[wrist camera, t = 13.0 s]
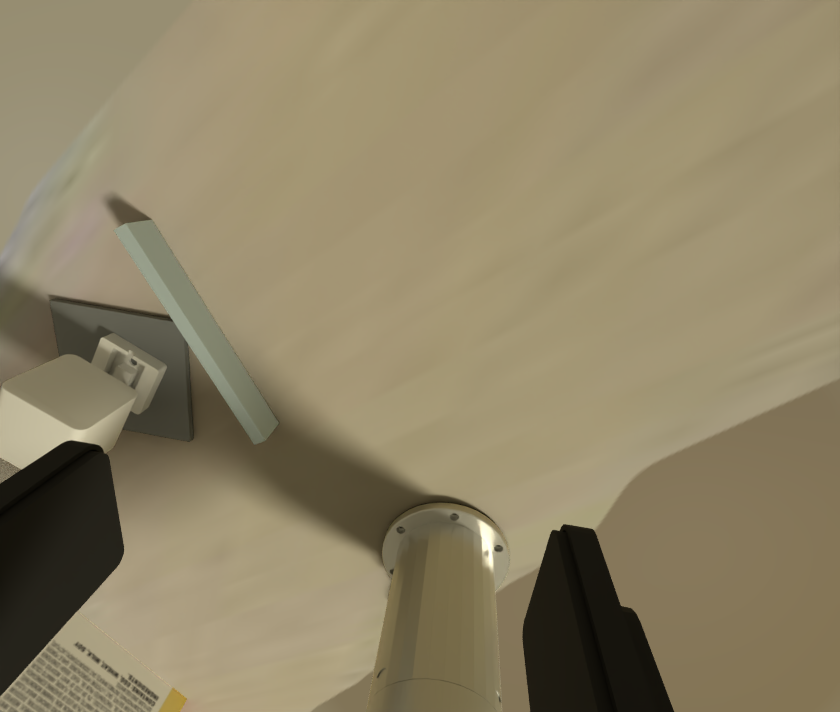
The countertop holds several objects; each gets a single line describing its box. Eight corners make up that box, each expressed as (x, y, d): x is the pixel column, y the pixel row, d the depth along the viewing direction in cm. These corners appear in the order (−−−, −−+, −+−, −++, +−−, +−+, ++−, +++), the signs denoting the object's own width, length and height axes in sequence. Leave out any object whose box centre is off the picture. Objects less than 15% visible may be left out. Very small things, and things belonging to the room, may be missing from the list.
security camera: (85, 387, 42) (-23, 446, 33) (107, 328, 40) (-2, 375, 31) (146, 423, 43) (58, 490, 34) (172, 368, 41) (84, 424, 31)
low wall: (279, 423, 42) (265, 440, 40) (268, 427, 43) (254, 444, 40) (151, 219, 36) (125, 223, 34) (140, 226, 37) (113, 230, 34)
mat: (193, 438, 44) (189, 441, 44) (75, 416, 45) (70, 419, 44) (186, 321, 40) (182, 323, 39) (55, 298, 40) (49, 300, 39)
